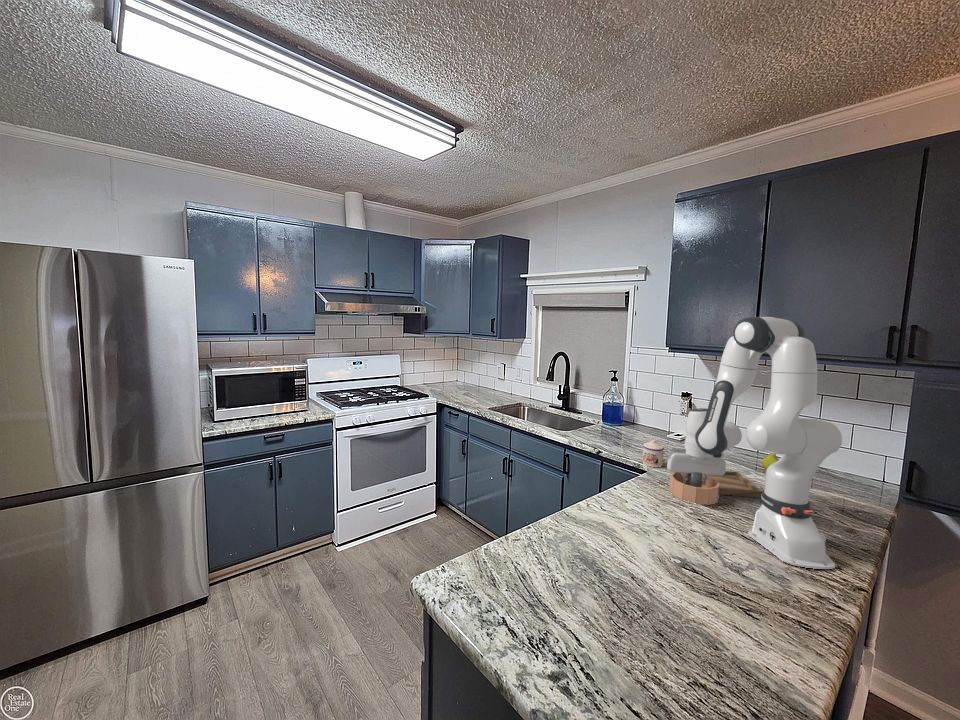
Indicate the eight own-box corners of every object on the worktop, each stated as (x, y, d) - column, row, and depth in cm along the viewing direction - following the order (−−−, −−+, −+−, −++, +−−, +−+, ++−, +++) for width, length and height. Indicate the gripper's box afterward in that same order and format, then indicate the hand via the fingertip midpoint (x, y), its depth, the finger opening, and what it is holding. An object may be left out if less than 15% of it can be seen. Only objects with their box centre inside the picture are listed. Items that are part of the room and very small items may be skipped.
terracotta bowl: (725, 507, 147) (727, 490, 146) (677, 503, 149) (679, 486, 148) (707, 487, 163) (708, 472, 162) (664, 484, 165) (665, 469, 165)
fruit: (771, 475, 177) (774, 449, 175) (757, 469, 183) (760, 444, 182) (783, 473, 179) (786, 447, 177) (768, 468, 185) (771, 443, 184)
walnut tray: (761, 498, 154) (762, 492, 154) (719, 495, 156) (720, 489, 156) (736, 477, 174) (737, 471, 174) (699, 474, 176) (700, 469, 176)
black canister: (702, 498, 153) (704, 473, 152) (688, 497, 154) (690, 472, 153) (697, 492, 158) (699, 468, 157) (684, 491, 159) (686, 467, 158)
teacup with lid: (639, 464, 187) (640, 440, 185) (645, 459, 194) (646, 436, 192) (666, 471, 179) (668, 446, 178) (671, 465, 186) (673, 441, 185)
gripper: (671, 450, 152) (668, 485, 154) (729, 454, 149) (725, 489, 151) (666, 445, 158) (663, 478, 160) (721, 448, 155) (718, 482, 157)
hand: (694, 483), depth 155 cm, fingers closed on black canister, 5 cm apart
